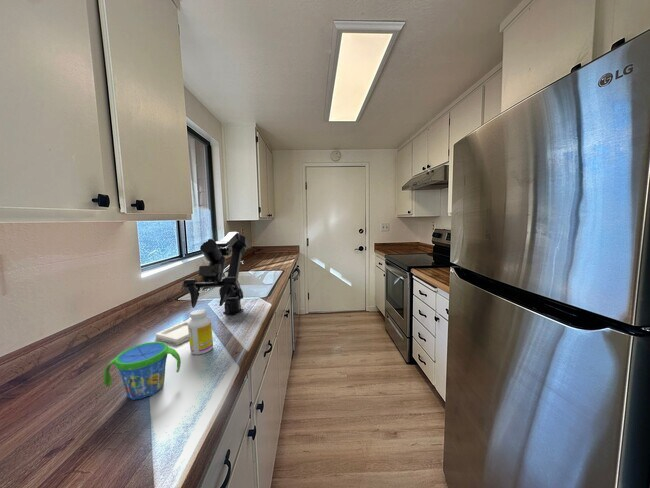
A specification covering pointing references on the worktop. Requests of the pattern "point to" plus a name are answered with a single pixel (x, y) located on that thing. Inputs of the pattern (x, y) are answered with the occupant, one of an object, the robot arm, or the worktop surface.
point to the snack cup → (142, 368)
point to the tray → (175, 334)
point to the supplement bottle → (200, 332)
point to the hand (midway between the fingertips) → (206, 306)
